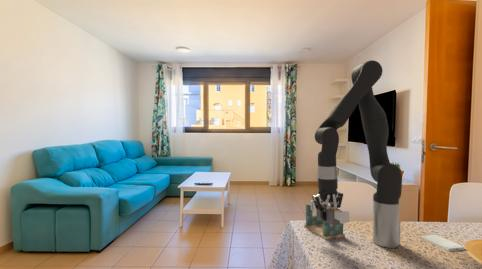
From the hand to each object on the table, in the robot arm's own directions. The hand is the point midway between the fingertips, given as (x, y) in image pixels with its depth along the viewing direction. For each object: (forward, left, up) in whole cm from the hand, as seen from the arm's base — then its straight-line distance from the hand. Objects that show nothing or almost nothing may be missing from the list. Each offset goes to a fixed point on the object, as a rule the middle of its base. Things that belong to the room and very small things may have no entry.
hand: (328, 219), depth 102 cm
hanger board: (-8, -13, -11) cm, 18 cm away
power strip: (0, 0, -1) cm, 1 cm away
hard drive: (-46, +14, -11) cm, 49 cm away
